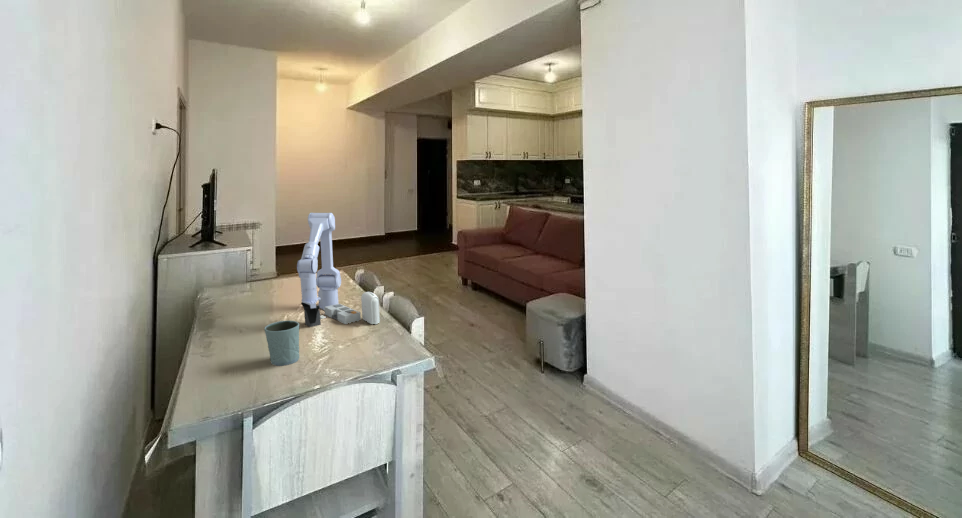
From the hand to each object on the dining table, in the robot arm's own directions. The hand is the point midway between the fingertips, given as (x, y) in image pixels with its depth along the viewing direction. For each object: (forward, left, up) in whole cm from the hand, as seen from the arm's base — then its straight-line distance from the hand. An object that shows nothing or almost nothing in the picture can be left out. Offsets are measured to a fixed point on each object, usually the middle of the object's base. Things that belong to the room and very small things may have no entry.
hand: (311, 320), depth 177 cm
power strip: (0, +13, -2) cm, 14 cm away
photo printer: (+13, +19, -2) cm, 24 cm away
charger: (0, +2, -2) cm, 3 cm away
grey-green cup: (+28, -22, -2) cm, 35 cm away
